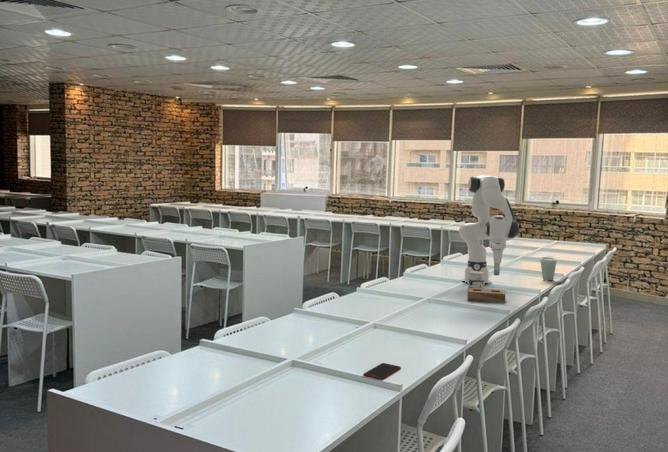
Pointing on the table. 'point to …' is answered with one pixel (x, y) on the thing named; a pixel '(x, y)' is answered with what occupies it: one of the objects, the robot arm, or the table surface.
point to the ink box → (476, 279)
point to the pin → (496, 272)
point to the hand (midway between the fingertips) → (496, 269)
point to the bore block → (486, 295)
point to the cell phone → (382, 371)
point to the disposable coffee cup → (548, 267)
